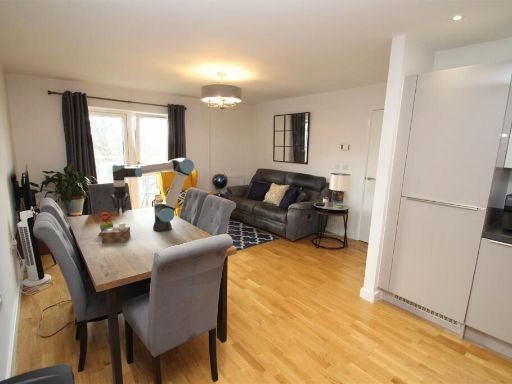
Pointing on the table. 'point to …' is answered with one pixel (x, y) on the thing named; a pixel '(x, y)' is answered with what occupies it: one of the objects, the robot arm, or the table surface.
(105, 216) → the stacking bear
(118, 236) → the brown woven basket
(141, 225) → the table surface
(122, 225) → the peg
